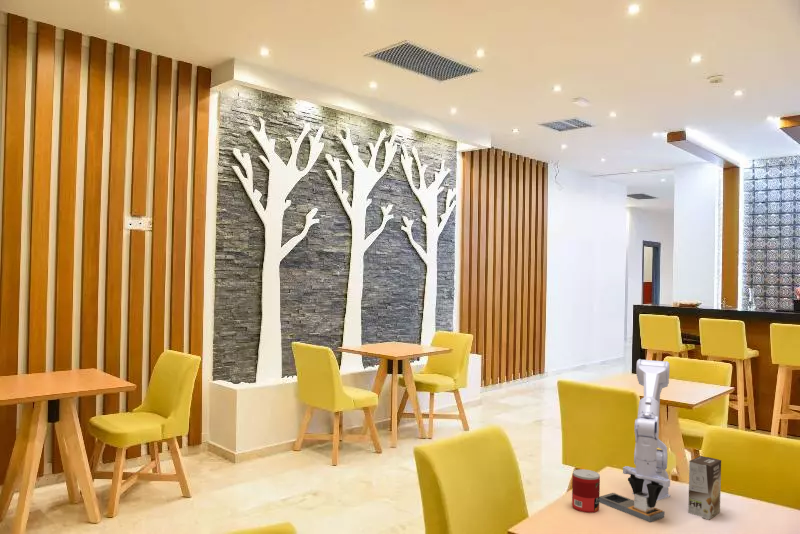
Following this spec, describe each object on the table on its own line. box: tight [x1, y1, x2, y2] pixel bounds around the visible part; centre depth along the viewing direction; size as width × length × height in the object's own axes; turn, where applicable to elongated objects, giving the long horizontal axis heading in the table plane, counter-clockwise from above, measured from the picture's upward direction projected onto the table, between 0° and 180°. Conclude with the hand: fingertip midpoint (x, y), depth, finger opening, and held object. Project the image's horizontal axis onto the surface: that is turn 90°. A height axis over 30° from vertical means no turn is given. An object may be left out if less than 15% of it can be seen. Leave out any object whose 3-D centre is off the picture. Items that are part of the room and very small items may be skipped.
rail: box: [599, 492, 665, 523], centre depth 186 cm, size 7×18×2 cm, turn 34°
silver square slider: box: [633, 491, 655, 514], centre depth 182 cm, size 4×4×6 cm
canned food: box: [571, 468, 601, 514], centre depth 187 cm, size 8×8×11 cm
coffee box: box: [687, 455, 722, 520], centre depth 186 cm, size 9×6×16 cm
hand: (645, 504), depth 182 cm, fingers closed on silver square slider, 4 cm apart
